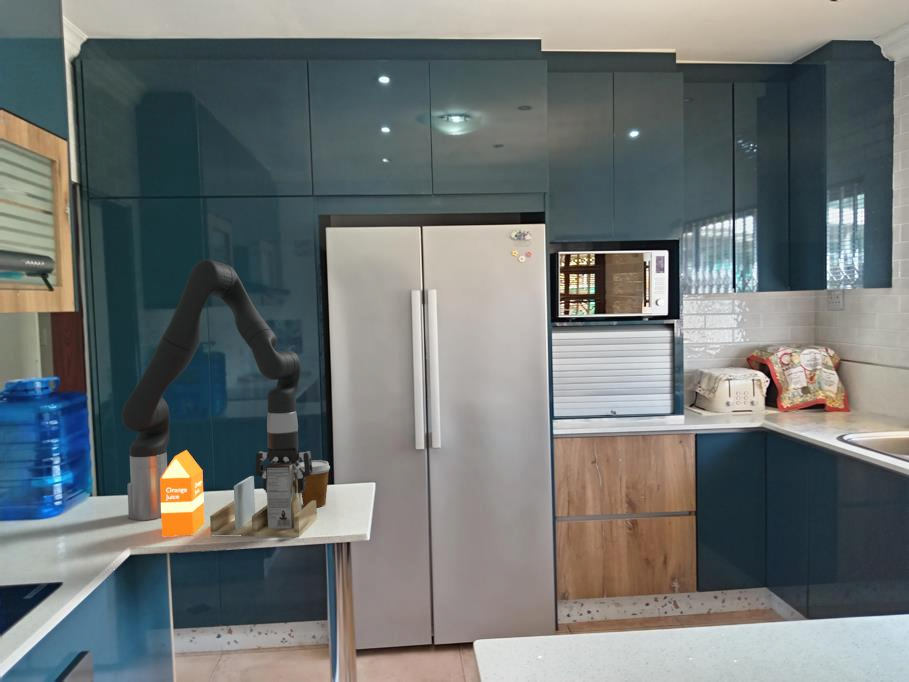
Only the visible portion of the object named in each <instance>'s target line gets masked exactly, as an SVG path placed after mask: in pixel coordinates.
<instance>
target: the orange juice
mask: <svg viewBox="0 0 909 682" xmlns="http://www.w3.org/2000/svg"><path fill="white" fill-rule="evenodd" d="M203 477H204V476H203V469H202V468H201V467H200V465H199V463H197V462H196V461H195V459H194V458H193V456H192V455H191V454H190V453H189V451H188V449H186V450H184V451H181V452H180V453H179V454H176V455H174V457H173V459H172V460H171V462H170V463H169V465H167V469H166V471H165V472H164V474H163V475H162V477H161V478H160V489H161V516H162V517H161V537H162V536H170V537H175V536H174V535H191V534H192V535H193V534H194V533H195V532H196V531H197V530H198V529H199V528H200V527H201V526H202V525H203V524H204V525H205V512H204V511H205V509H204V508H205V507H204V506H205V505H204V501H205V500H204V481H203V480H204V479H203ZM204 525H203V526H204ZM203 526H202V527H203ZM202 527H201V528H202ZM201 528H200V529H201ZM200 529H199V530H200ZM199 530H198V531H199ZM198 531H197V532H198ZM197 532H196V533H197ZM196 533H195V534H196ZM195 534H194V535H195ZM194 535H193V536H194Z"/></svg>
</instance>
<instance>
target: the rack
mask: <svg viewBox="0 0 909 682" xmlns="http://www.w3.org/2000/svg"><path fill="white" fill-rule="evenodd" d="M317 511H318V510H317V508H316V501H315V500H312V501H311V502H310V503H308V504H307V505H306V506H305V507H304V506H303V508H302V510H301V511H300V512H298V513H297V514H296V515H295V516H294V527H293V528H292V529H268V510H267V504H266V505H265V506H263V507H262V508H261V509H259V510H258V511H257V512H255V514H254V515H253V516H252V520H251V521H250V522H248V523H247V524H246V525H244V526H243V527H242V528H241V529H239V530H235V507H234V500H232V501H231V502H230V503H227V505H225V506H224V507H222V508H220V509H218V510H217V511H216V512H214V513H213V514H210V516H209V519H210V523H209V525H210V536H211V535H241V536H240V537H271V536H276V537H277V538H278V537H281V538H282V537H287V538H288V537H289V538H291V537H292V538H293V537H295V538H298V537H301V536H302V534H303V533H304V532H306V531H307V530H308V529H309V528H310V527H311V526H312V525H313V523H314V522H316V521H317V519H318V514H317V513H318V512H317Z"/></svg>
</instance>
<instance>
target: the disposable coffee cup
mask: <svg viewBox="0 0 909 682" xmlns="http://www.w3.org/2000/svg"><path fill="white" fill-rule="evenodd" d="M329 464H330V463H329V462H328V461H326V460H321V459H318V460H312V470H313V472H312V474H310V475H309V476H306V477H305V490H303V492H302V493H301V502H302V506H303V508H304V507H305V506H306V505H307V504H308V503H310V502H311V501H312V500H315V501H316V507H318V508H321V507H320V506H322V507H324V506H326V503H327V502H326V501H327V491H328V480H329V471H330V469H331V466H330V465H329ZM300 465H301V467H302V469H303V470H304V471H305V468H304V461H302V462H301V461H300ZM323 505H324V506H323Z"/></svg>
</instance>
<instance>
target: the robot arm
mask: <svg viewBox="0 0 909 682" xmlns="http://www.w3.org/2000/svg"><path fill="white" fill-rule="evenodd" d="M210 296H211V297H216V298H217V297H219V298H220V299H221V300H222V301H223V302H224V303H225V304H226V305H227V306H228V307H229V308H230V310H231V311H232V313H233V316H234V317H233V318H234V322H235V323H234V324H235V326H236V329H237V331H238V333H239V335H240V336H241V338H242V339H243V340H244V342H245V343H246V345H247V346H248V347H249V349H250V350H251V351H252V354H253V358H254V361H255V362H256V366H257V368H258V370H259V372H260V374H262V376H264V378H266V379H267V380H271V381H272V380H273V381H274V380H275V381H276V380H277V383H276V386H275V387H273V388H272V389H270V390H269V391H268V393H267V418H266V419H267V421H266V427H267V429H266V431H267V448H268V450H267V452H264V451H263V450H259V451H258V452H257V453H256V454H255V468H254V469H255V472H254V474H255V475H256V477H261V478H262V483H263V484H262V485H263V491H265V493H266V494H267V484H266V470H264V469H265V467H264V465H265V464H264V463H265V461H266V460H268V461H269V463H280V462H285V463H295V462H297V467H296V466H295V465H294V464H293V468H294V472H295V473H296V475H297V476H298V477H299V478H298V493H302V492H303V490H305V477H306V476H309V475H310V474H312V472H313V470H312V461H313V460H312V452H311V451H310V450H307V451H305V452H304V451H303V452H302V451H300V450H299V424H298V413H297V400H296V399H297V397H296V396H297V391H298V388H299V383H300V377H301V372H302V365H301V364H302V363H301V360H300V358H299V356H298V354H297V353H295V352H294V351H293V350H281V351H276V350H275V346H276V345H277V343H278V339H277V336H276V335H275V333H274V331H273V330H272V329H271V328H270V326H269V325H268V324H267V322H266V321H265V320H264V318H263V317H262V316H261V314H260V313H259V311H258V309H256V307H255V305H254V304H253V302H252V300H251V298H250V296H249V294H248V293H247V291H246V289H245V287H244V285H243V283H242V281H241V279H240V277H239V276H238V274H237V272H236V270H235V269H234V268H233V267H232V266H230V265H229V264H227V263H223V262H221V261H216V260H213V259H206V258H205V259H201V260H199V261H198V262H197V263H196V264H195V265H194V266H193V268H192V269H191V271H190V274H189V276H188V278H187V281H186V284H185V286H184V289H183V292H182V294H181V297H180V300H179V302H178V304H177V306H176V309H175V311H174V313H173V315H172V318H171V320H170V321H169V324H168V325H167V327H166V329H165V331H164V332H163V335H162V336H161V339H160V341H159V342H158V345H157V346H156V349H155V351H154V353H153V355H152V357H151V359H150V361H149V363H148V365H147V366H146V369H145V371H144V373H143V374H142V376H141V378H140V380H139V381H138V383H137V385H136V386H135V388H134V390H133V391H132V392H131V394H130V395H129V397H128V399H127V400H126V402H125V403H124V405H123V407H122V411H121V421H122V424H123V426H124V427H125V428H126V429H127V430H129V431H131V432H138V433H137V436H136V438H135V440H134V441H133V442H132V443H131V444H130V446H129V450H128V451H129V467H130V468H129V471H130V474H129V475H130V482H128V483H127V504H128V505H127V506H128V509H127V510H128V519H132V520H135V521H151V520H157V519H160V518H162V516H161V489H160V478H161V477H162V475H163V474H164V472H165V471H166V469H167V468H168V454H167V446H168V444H169V440H170V408H169V405H168V403H167V402H166V400H165V399H164V398H163V395H164V393H165V392H166V390H167V389H168V388H169V386H170V385H171V384H172V383H173V382H174V381H175V380H176V379H177V378H178V377H179V376H180V375H181V374H182V373H183V372H184V370H186V368H187V367H188V366H189V365H190V363H191V361H192V359H193V357H194V356H195V353H196V352H197V349H198V348H199V345H200V342H201V315H202V312H203V309H204V308H205V306H206V303H207V301H208V299H209V298H210ZM299 458H300V459H301V460H302V462H304V468H305V471H304V470H303V469H302V467H301V465H300V464H299V462H298V461H297V460H298V459H299ZM150 519H151V520H150Z"/></svg>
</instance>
